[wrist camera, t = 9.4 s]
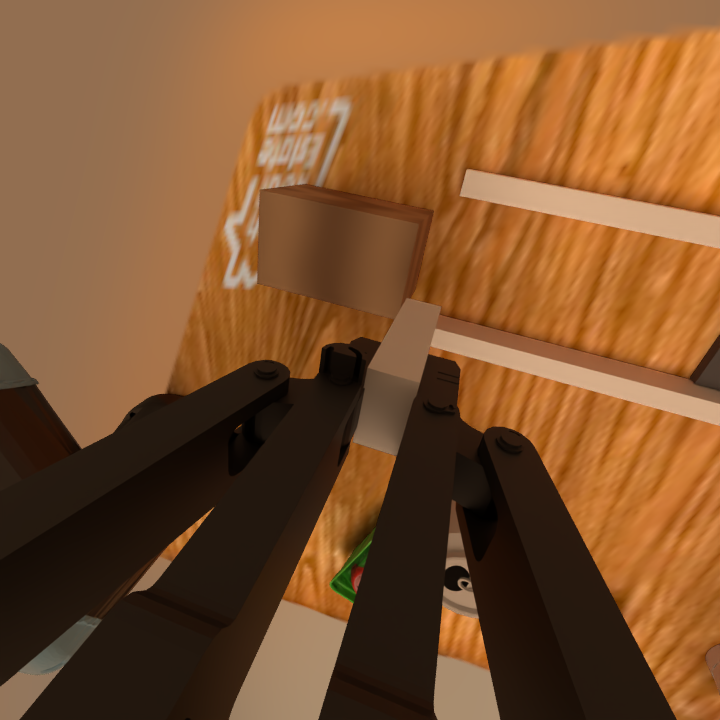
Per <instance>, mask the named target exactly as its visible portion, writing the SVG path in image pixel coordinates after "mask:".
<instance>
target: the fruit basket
mask: <svg viewBox="0 0 720 720" xmlns="http://www.w3.org/2000/svg"><path fill="white" fill-rule="evenodd" d="M375 528H376V527H375ZM375 528H374V529H373V531H372V532H371V533H370V534H369V535H368V536H367V537H366V538H365V539H364V540H363V542H362V543H361V544H359V545H358V546H357V547H356V548H355V550H354V551H353V553H352V554H351V556H350V557H349V558H348V560H347V561H346V563H345V564H344V566H343V567H342V569H341V570H340V571H339V572H338V573H337V574H336V575H335V577H334V578H333V579H332V581H331V582H330V587H331V588H332V589H333V590H334V591H335V592H336V593H338V594H340V595H341V596H343V597H344V598H346V599H348V600H349V601H350V602H352V603H354V599H355V596H356V593H357V589H358V586H359V583H360V579H361V576H362V572H363V569H364V566H365V562H366V559H367V555H368V552H369V549H370V545H371V542H372V538H373V535H374V532H375Z"/></svg>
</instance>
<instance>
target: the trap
mask: <svg viewBox="0 0 720 720" xmlns="http://www.w3.org/2000/svg"><path fill="white" fill-rule="evenodd" d="M690 379H691V380H692V381H693V382H694V383H695V384H699V385H703V386H707V387H711V388H714V389H718V390H720V335H719V337H718V338H717V340H716V341H715V342H714V344H713V345H712V347H711V348H710V350H709V351H708V353H707V354H706V355H705V357H704V358H703V360H702V361H701V363H700V364H699V366H698V367H697V368H696V370H695V371H694V373H693V374H692V376H691V377H690Z"/></svg>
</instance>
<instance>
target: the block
mask: <svg viewBox="0 0 720 720" xmlns="http://www.w3.org/2000/svg"><path fill="white" fill-rule="evenodd" d="M433 212H434V211H432V210H427V209H422V208H417V207H413V206H408V205H403V204H398V203H393V202H389V201H384V200H379V199H374V198H369V197H365V196H360V195H355V194H350V193H345V192H340V191H336V190H331V189H326V188H321V187H316V186H312V185H307V184H303V185H295V186H287V187H279V188H271V189H262V190H260V203H259V241H258V280H257V284H261V285H265V286H269V287H273V288H276V289H280V290H284V291H288V292H292V293H295V294H299V295H303V296H307V297H311V298H314V299H318V300H322V301H326V302H330V303H333V304H337V305H341V306H345V307H349V308H352V309H356V310H360V311H364V312H368V313H371V314H375V315H379V316H383V317H387V318H390V319H394V320H395V318H396V316H397V314H398V313H399V311H400V309H401V307H402V305H403V304H404V302H405V300H406V298H409V299H410V298H411V296H412V295H413V293H414V291H415V288H416V284H417V280H418V276H419V271H420V267H421V263H422V259H423V255H424V250H425V246H426V242H427V238H428V233H429V229H430V225H431V221H432V217H433Z"/></svg>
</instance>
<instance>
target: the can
mask: <svg viewBox="0 0 720 720" xmlns="http://www.w3.org/2000/svg"><path fill="white" fill-rule="evenodd" d="M455 508H456V502H455V501H454V500H452V504H451V515H450V526H449V537H448V548H447V558H446V569H445V580H444V591H443V602H442V605H443V606H444V607H445V608H447V609H449V610H451V611H453V612H455V613H457V614H460V615H464V616H468V617H471V618H479V617H478V612H477V608H476V603H475V598H474V594H473V589H472V584H471V580H470V575H469V570H468V566H467V561H466V556H465V552H464V547H463V542H462V538H461V533H460V528H459V524H458V519H457V514H456V510H455Z"/></svg>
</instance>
